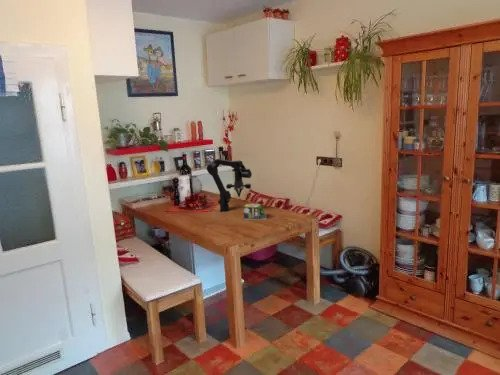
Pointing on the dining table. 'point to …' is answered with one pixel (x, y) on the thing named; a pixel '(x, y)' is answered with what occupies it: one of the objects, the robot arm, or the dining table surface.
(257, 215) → the chalk box
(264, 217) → the mat
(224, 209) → the robot arm
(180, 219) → the dining table surface
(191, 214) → the dining table surface
